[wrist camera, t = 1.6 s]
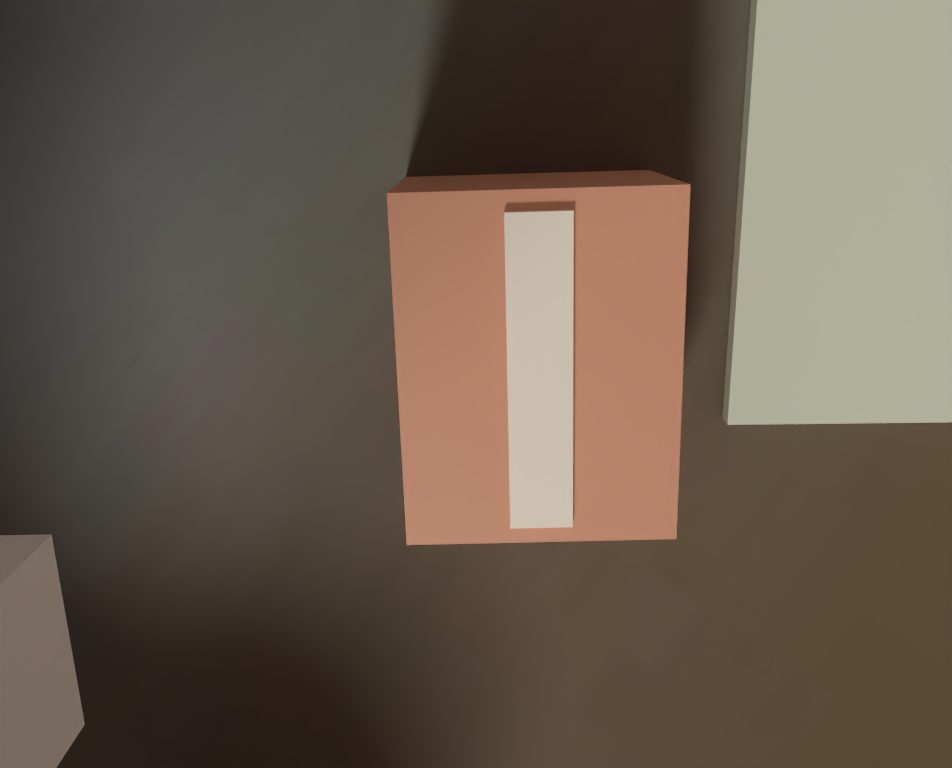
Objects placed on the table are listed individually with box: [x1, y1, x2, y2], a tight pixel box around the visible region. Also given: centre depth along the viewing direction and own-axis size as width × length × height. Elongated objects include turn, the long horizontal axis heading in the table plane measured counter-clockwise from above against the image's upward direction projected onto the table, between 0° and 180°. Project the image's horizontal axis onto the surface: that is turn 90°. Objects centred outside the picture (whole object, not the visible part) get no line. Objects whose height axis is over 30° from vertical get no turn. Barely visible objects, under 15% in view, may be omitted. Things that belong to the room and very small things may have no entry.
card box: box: [387, 170, 691, 545], centre depth 25 cm, size 9×7×6 cm
